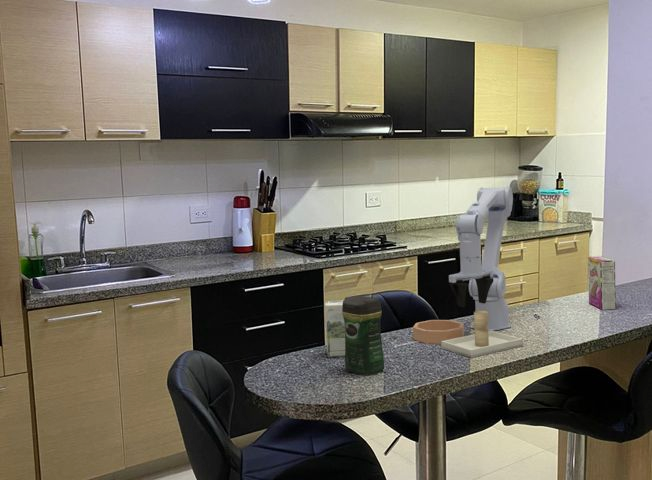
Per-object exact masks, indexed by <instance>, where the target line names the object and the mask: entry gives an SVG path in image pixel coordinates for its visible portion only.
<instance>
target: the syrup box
mask: <svg viewBox="0 0 652 480" xmlns="http://www.w3.org/2000/svg"><path fill="white" fill-rule="evenodd" d="M343 301H344V299H343V300H328V301H327V300H326V301H324V314H325V315H324V316H325V318H324V319H325V331H326V332H325V333H326V353H327V357H328V358H341V357H342V358H343V357H344V358H345V323H344V318H343V314H342V306H343Z"/></svg>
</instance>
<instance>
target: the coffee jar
mask: <svg viewBox="0 0 652 480" xmlns="http://www.w3.org/2000/svg"><path fill="white" fill-rule="evenodd" d="M343 300H344V301H343V306H342V314H343V318H344V323H345V356H344V367H345V370H346V371H348V372H350V373H354V374H358V375H363V376H366V375H367V376H368V375H378V374H379V373H381V372H382V371H383V370H384V369H385V360H384V359H385V358H384V351H383V350H384V349H383V342H382V331H381V318H382V311H383V310H382V306H381V300H379V298H376V297H370V296H364V295H353V296H346V297H345V298H344V299H343Z"/></svg>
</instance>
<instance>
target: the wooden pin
mask: <svg viewBox="0 0 652 480" xmlns="http://www.w3.org/2000/svg"><path fill="white" fill-rule="evenodd" d="M473 321H474V322H473V323H474V324H473V325H474V328H473V330H474V334H475V346H478V347H485V346H489V338H488V312H487V311H476V310H475V311H474V312H473Z"/></svg>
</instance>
